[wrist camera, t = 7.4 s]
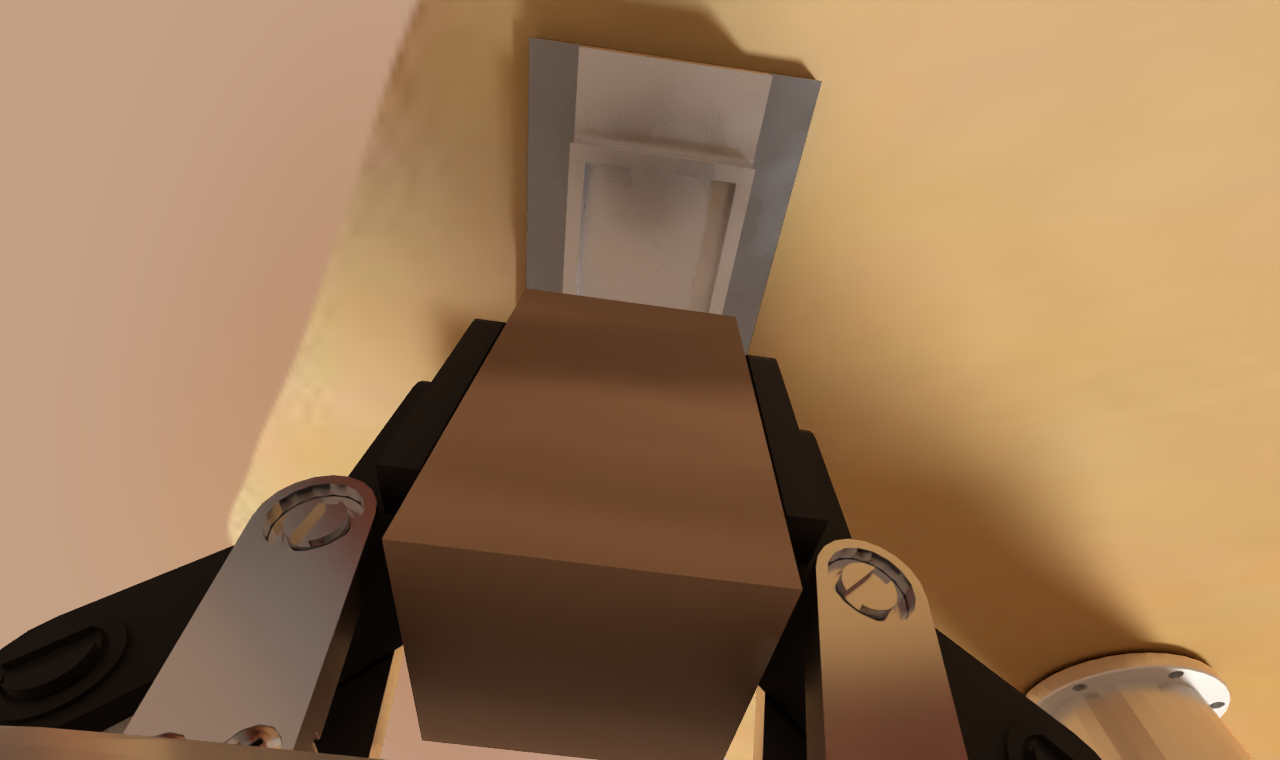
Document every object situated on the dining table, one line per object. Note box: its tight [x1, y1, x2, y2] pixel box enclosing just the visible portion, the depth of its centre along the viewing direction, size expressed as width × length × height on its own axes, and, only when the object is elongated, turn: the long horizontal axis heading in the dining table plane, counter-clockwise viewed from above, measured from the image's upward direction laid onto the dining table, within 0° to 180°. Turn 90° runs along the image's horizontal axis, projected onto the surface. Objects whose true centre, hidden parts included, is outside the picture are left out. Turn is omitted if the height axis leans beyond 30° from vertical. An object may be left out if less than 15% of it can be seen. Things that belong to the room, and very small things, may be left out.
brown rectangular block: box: [382, 288, 803, 760], centre depth 9 cm, size 5×4×6 cm
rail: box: [526, 37, 822, 355], centre depth 21 cm, size 24×10×9 cm, turn 173°
